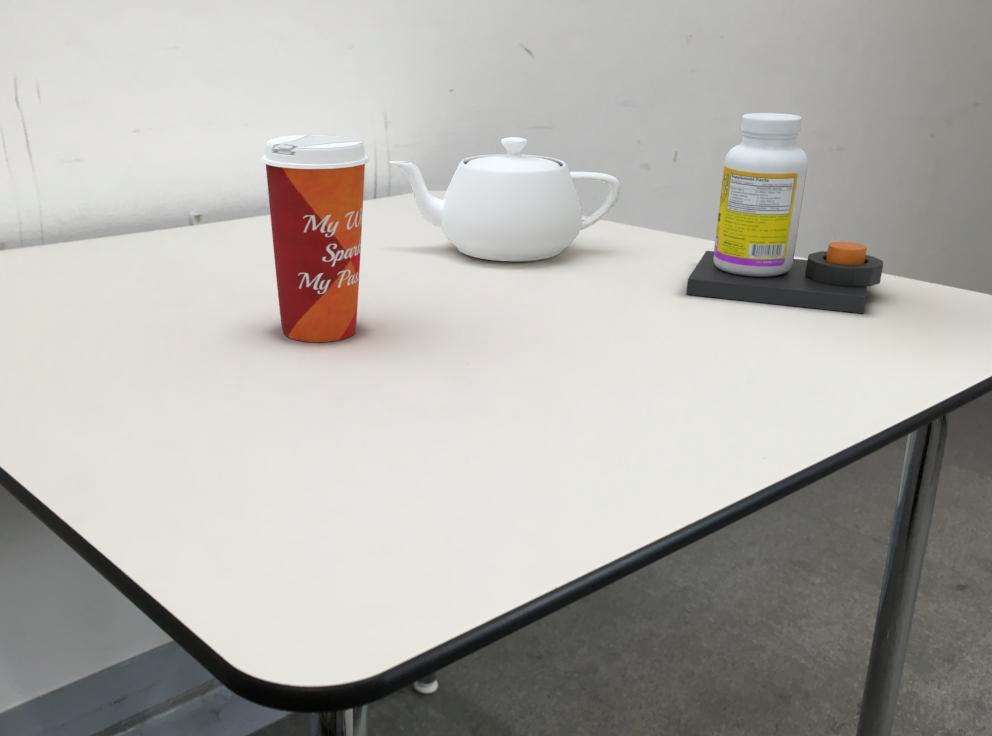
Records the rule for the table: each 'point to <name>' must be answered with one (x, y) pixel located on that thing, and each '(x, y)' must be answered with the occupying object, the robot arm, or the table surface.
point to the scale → (792, 283)
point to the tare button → (846, 253)
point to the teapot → (510, 204)
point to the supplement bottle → (761, 197)
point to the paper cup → (316, 232)
